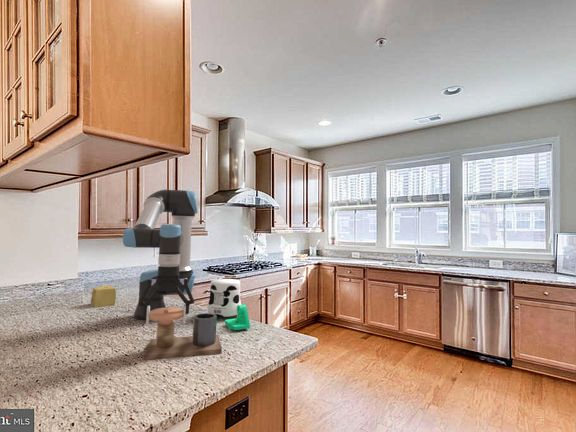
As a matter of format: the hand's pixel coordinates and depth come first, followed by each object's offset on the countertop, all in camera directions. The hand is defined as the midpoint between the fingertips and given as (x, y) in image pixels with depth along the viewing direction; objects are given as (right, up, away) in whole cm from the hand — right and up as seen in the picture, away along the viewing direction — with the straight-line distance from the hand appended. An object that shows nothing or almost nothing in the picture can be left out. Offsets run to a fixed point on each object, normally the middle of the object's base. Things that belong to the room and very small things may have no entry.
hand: (166, 323), depth 116 cm
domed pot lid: (0, 0, 0) cm, 0 cm away
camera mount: (+22, -12, +28) cm, 37 cm away
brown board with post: (+6, -10, +2) cm, 12 cm away
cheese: (-60, -11, +62) cm, 87 cm away
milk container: (+12, -12, +47) cm, 50 cm away
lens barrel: (+13, -8, +4) cm, 16 cm away
